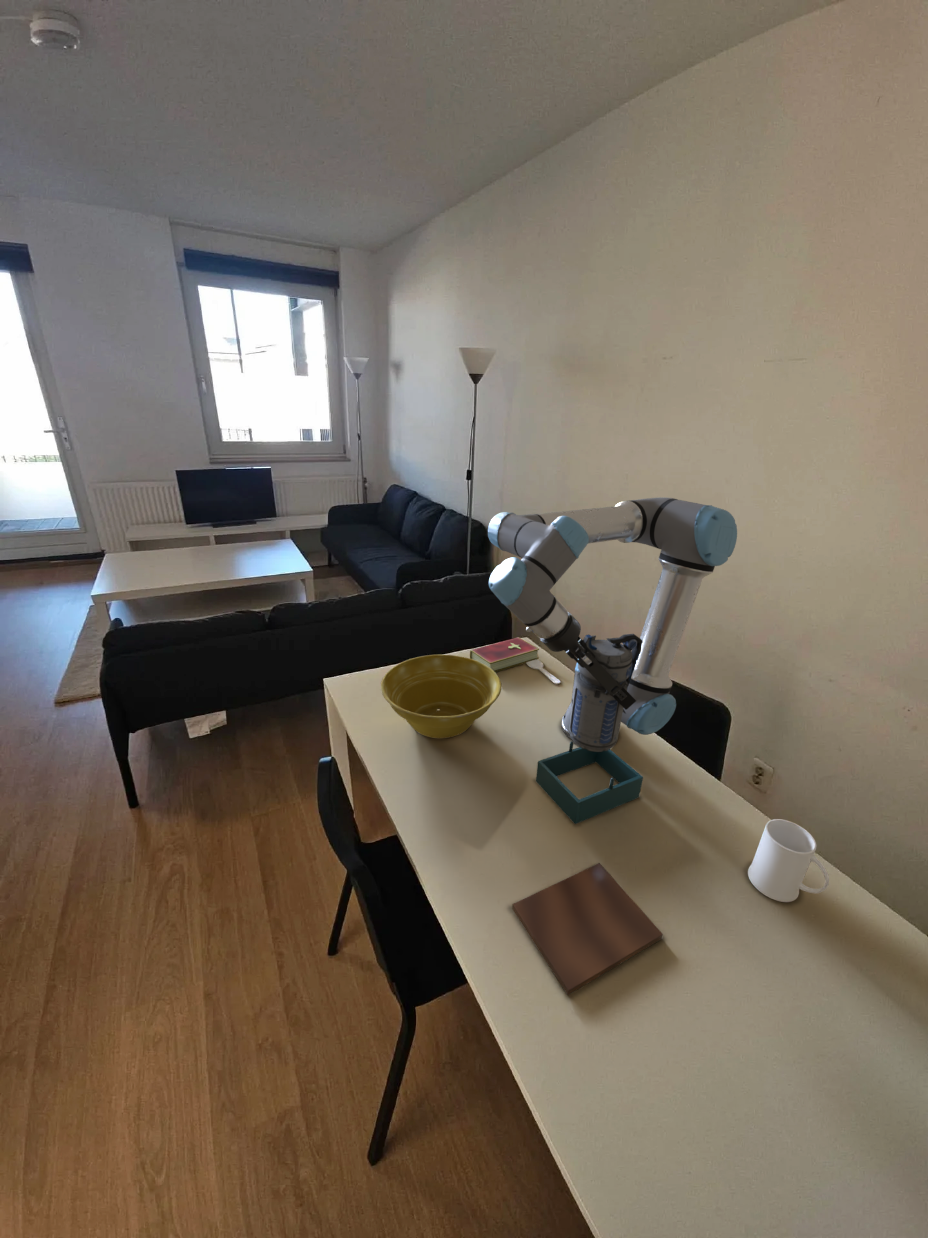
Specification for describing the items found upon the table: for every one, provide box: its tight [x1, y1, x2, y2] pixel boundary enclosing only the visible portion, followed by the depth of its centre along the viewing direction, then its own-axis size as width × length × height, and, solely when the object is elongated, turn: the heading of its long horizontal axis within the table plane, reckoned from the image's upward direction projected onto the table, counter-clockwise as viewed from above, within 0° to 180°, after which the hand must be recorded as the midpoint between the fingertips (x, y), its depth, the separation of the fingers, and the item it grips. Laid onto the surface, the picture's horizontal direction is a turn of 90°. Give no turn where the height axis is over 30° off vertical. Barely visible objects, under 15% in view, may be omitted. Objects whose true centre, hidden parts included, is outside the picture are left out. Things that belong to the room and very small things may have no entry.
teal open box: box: [535, 740, 644, 825], centre depth 117 cm, size 19×15×9 cm
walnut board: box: [511, 862, 664, 996], centre depth 88 cm, size 20×16×1 cm
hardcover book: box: [469, 636, 540, 673], centre depth 175 cm, size 12×21×4 cm, turn 123°
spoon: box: [525, 659, 561, 685], centre depth 169 cm, size 5×18×1 cm, turn 25°
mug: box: [747, 818, 830, 903], centre depth 93 cm, size 12×8×12 cm
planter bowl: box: [380, 654, 502, 739], centre depth 138 cm, size 32×32×13 cm
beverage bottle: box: [569, 633, 643, 752], centre depth 103 cm, size 10×13×25 cm
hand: (617, 690), depth 104 cm, fingers closed on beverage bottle, 10 cm apart
